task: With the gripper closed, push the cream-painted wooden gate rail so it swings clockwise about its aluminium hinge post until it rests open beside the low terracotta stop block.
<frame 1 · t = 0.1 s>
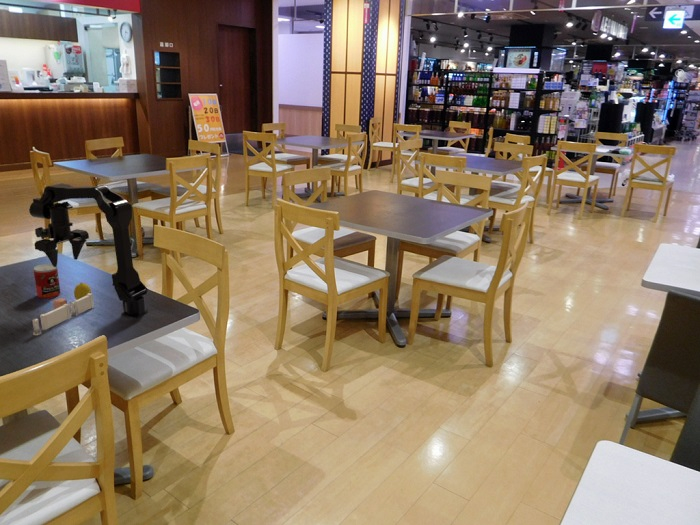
hand: (65, 263, 194), 15 cm above the table, fingers open, 9 cm apart
lemon: (84, 303, 197), on the table
hinge post: (73, 316, 187), on the table
fence panel: (84, 311, 191), on the table
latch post: (37, 333, 173), on the table
stop block: (60, 308, 192), on the table
gate: (55, 316, 179), point 3 cm above the table, hinge at 0.0°
canned food: (49, 295, 203), on the table
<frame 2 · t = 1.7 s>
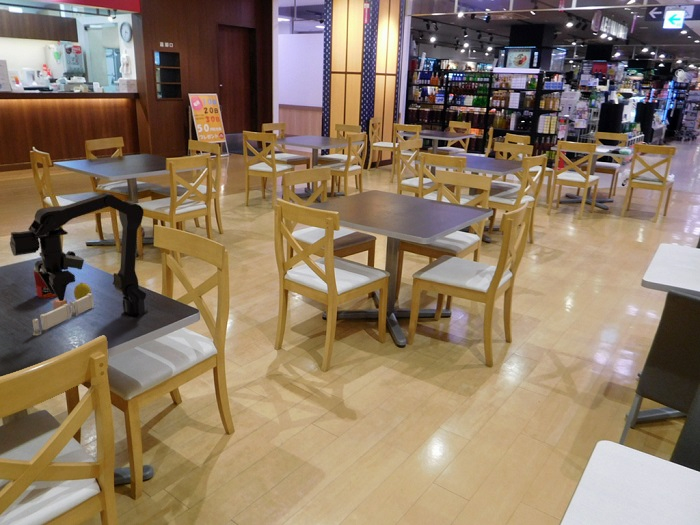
hand: (57, 297, 171), 12 cm above the table, fingers open, 7 cm apart
nothing on the table moved.
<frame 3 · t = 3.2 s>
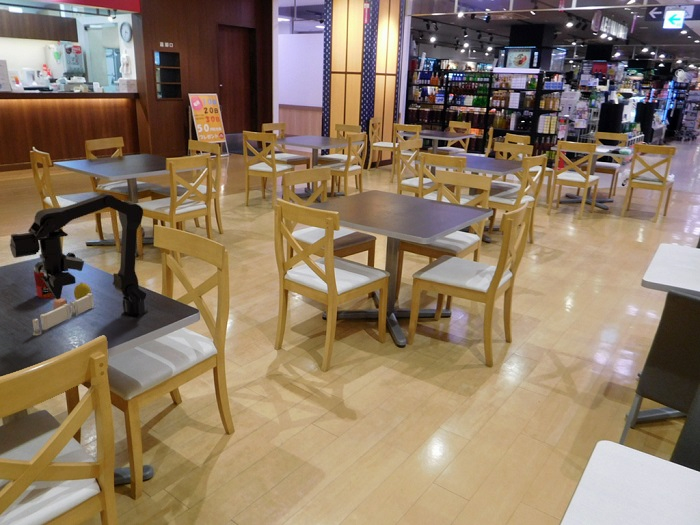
hand: (58, 298, 171), 12 cm above the table, fingers closed
nothing on the table moved.
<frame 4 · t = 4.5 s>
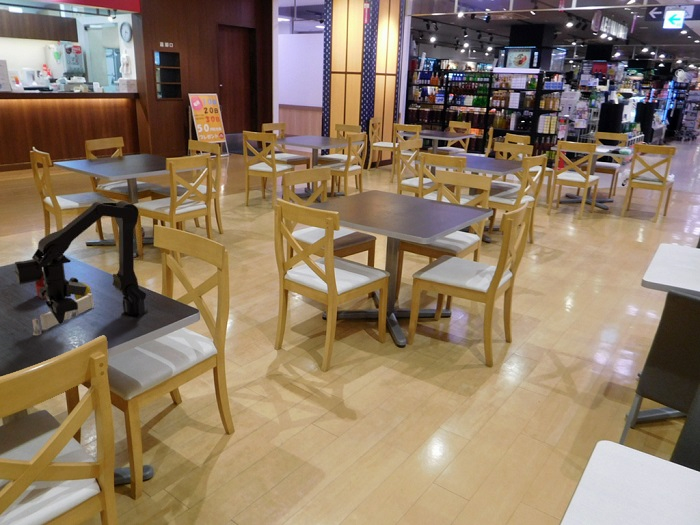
hand: (61, 323, 174), 3 cm above the table, fingers closed
nothing on the table moved.
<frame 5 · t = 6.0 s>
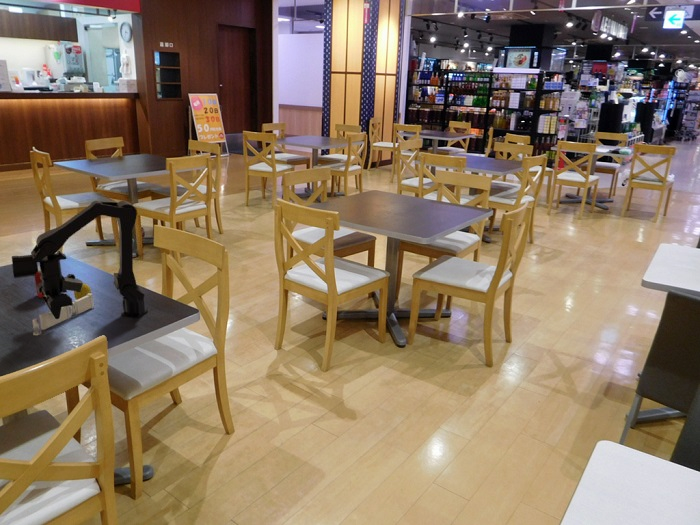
hand: (57, 318, 177), 3 cm above the table, fingers closed
gate: (55, 316, 179), point 3 cm above the table, hinge at 1.7°, touching gripper
everything else where it was.
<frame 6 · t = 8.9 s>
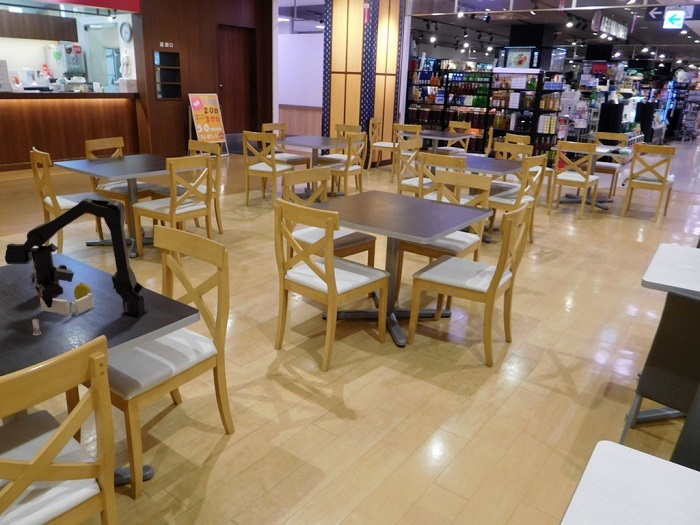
hand: (49, 307, 185), 3 cm above the table, fingers closed
gate: (55, 305, 187), point 3 cm above the table, hinge at 86.7°, touching gripper
everything else where it was.
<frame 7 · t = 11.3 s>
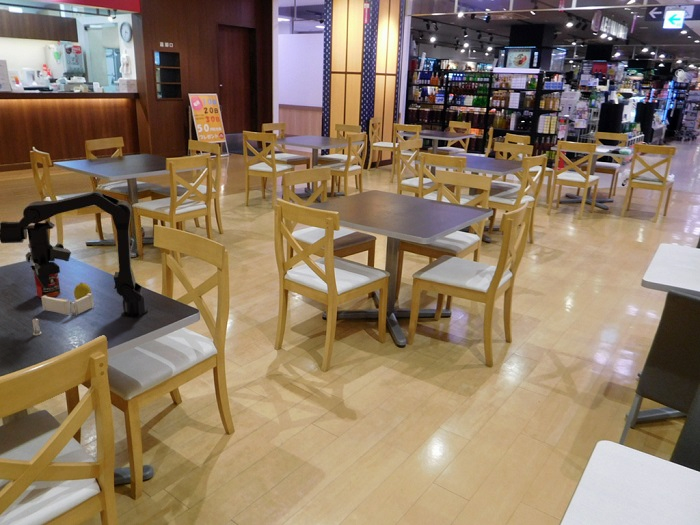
hand: (45, 287, 179), 12 cm above the table, fingers closed
gate: (55, 304, 188), point 3 cm above the table, hinge at 89.7°
everything else where it was.
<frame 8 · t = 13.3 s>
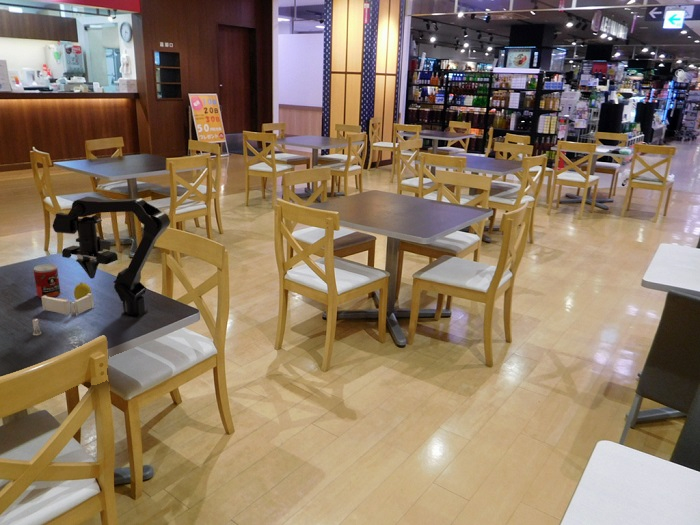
hand: (92, 278, 188), 12 cm above the table, fingers closed
nothing on the table moved.
at the end: gate at +90° (first picture: +0°); lemon moved 0.2 cm from its start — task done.
